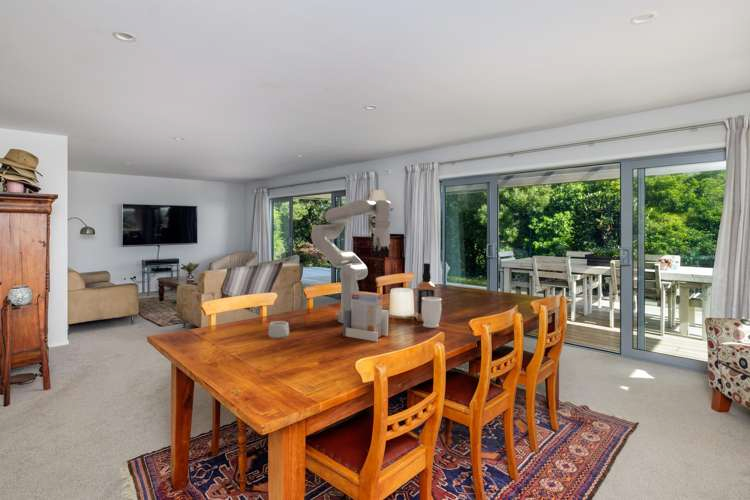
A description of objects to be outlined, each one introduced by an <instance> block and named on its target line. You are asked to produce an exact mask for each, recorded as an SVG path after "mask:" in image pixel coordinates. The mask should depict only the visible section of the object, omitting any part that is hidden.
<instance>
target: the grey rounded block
mask: <svg viewBox="0 0 750 500" xmlns="http://www.w3.org/2000/svg"><path fill="white" fill-rule="evenodd" d="M267 334H268V335H267V336H268V337H270V338H273V339H283V338H287V337H289V336H290V326H289V322H287V321H285V320H278V321H277V320H276V321H271V322H270V323H269V325H268V332H267Z"/></svg>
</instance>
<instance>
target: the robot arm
mask: <svg viewBox="0 0 750 500" xmlns="http://www.w3.org/2000/svg"><path fill="white" fill-rule="evenodd" d="M361 215H370V216H371V215H372V216H374V215H375V220H374V221H375V222H374V224H375V225H374V230H373V231H374V232H373V239H372V240H373V242H372V245H373V251H374V252H373V253H374V256H373V258H374V259H381V248H383V250H382V252H383V254H382V257H383V258H390V249H391V247H390V246H391V244H392V243H391V238H390V237H391V234H390V231H391V230H390V228H391V201H390V200H385V199H379V200H373V199H358V200H355V201H354V200H353V201H351V202H348V203H347V204H344V205H340V206H336V207H333V208H329V209H328V210H327V211H326V212H325V215H324V217H325V221H326V222H328V223H330V224H319V225H315V226H314V227H313V228H312V230H311V233H310V234H311V242H312V245H314V247H315V248H316V249H317V250H318V251H319V252H320V253H321V254H322V255H323V256H324V257H325V258H326V259H327V260H328V261H329V263H330V264H331V265H332V266H333V267H335V268H337V269H340V270H339V278H340V279H339V280H340V289H341V291H340V296H341V297H340V298H341V299H340V312H339V311H336V312H335V315H334V316H335V317H338V318H337V322H339V323H341V324H343V314H344V311H345V310H348V309H351V306H352V292H356V291H360V290H359V289H360V288H359V284H358V281H359V280H364V279H365V278H366V277H367V276H368V273H369V271H368V270H369V269H368V267H367V265H366V264H365V263H364V262H363V261H362V260H361V259H360V258H359V257H358V256H357V254H356V253H354V252H353V251H351V250H349V249H347V250H344V249H343V250H341V249H339V248H338V247H337V245H336V244H334V242H332V241H330V240H336V239H337V238H339V236H340V235H341V233H342V232H343V230H344V228H345V226H346V225H347V223H348V221H352V220H353V219H354V218H355V217H356V216H361Z"/></svg>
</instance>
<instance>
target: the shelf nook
mask: <svg viewBox="0 0 750 500" xmlns="http://www.w3.org/2000/svg"><path fill="white" fill-rule="evenodd" d="M342 324H343V326H342V330H343V331H342V335H343V337H347V338H348V337H349V338H353V339H354V338H355V339H360V340H365V341H371V342H372V341H373V342H378V341H379V338H378V332H372V331H366V330H360V329H354V328H351V309H348V310H345V311H344V314H343V323H342ZM381 336H385V337H387V336H389V310H385V309H382V330H381Z"/></svg>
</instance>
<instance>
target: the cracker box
mask: <svg viewBox="0 0 750 500" xmlns="http://www.w3.org/2000/svg"><path fill="white" fill-rule="evenodd" d="M382 310H383V293H378V292H370V291H369V292H368V291H362V290H361V291H360V290H359V291H356V292H352V306H351V328H354V329H360V330H366V331H372V332H378V339H379V338H381V337H382V335H381V330H382Z"/></svg>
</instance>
